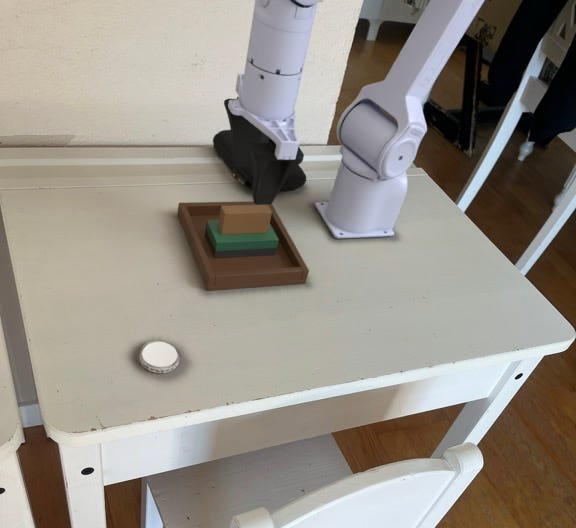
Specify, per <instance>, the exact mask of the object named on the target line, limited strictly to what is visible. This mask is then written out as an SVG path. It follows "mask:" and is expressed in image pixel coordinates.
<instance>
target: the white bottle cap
mask: <svg viewBox="0 0 576 528" xmlns="http://www.w3.org/2000/svg"><path fill="white" fill-rule="evenodd" d="M180 357H181V354H180V351H179V349H178V348H177V347H176V346H175V344H173V343H171V342H168V341H165V340H152V341H149V342H146V343H145V344H144V345H143V346H142V347H141V348H140V350H139V362H140V364H141V366H142V367H143V368H145V369H146V370H148V371H150V372H152V373H157V374H165V373H169V372H171V371H174V370H175V369H176V368H177V367H178V366H179V363H180V359H181V358H180Z"/></svg>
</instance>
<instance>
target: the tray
mask: <svg viewBox="0 0 576 528" xmlns="http://www.w3.org/2000/svg"><path fill="white" fill-rule="evenodd" d="M232 205H256V204H255V203H254V201H253V200H252V201H250V200H249V201H247V200H246V201H200V202H195V201H194V202H178V208H177V219H178V221H179V224H180V226H181V229H182V232H183V234H184V237H185V239H186V241H187V244H188V246H189V249H190V252H191V255H192V256H193V259H194V262H195V264H196V266H197V269H198V272H199V274H200V276H201V279H202V281H203V284H204V286H205V289H206V291H208V292H210V291H223V290H236V289H248V288H250V289H251V288H263V287H264V288H265V287H275V286H276V287H277V286H289V285H290V286H291V285H302V284H303V285H304V284H306V282H307V278H308V276H309V272H310V270H309V268H308V266H307V264H306V262H305V261H304V259H303V257H302V255H301V254H300V252H299V250H298V248H297V246H296V244H295V243H294V241H293V239H292V237H291V236H290V234H289V232H288V230H287V228H286V227H285V225H284V222H283V221H282V220H281V218H280V216H279V213H277V211H276V209H275V206H274V205H273V203H272V204H268V206H269V208H270V210H271V211H272V215H271V219H270V224H271V226H272V228H273V230H274V232H275V234H276V236H277V237H278V239H279V241H278V245H277V249H276V253H275V255H267V256H248V257H230V258H214V256H213V254H212V252H211V249H210V247H209V245H208V242H207V240H206V238H205V230H206V222H207V220H219V216H220V210H221V206H232Z"/></svg>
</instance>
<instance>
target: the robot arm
mask: <svg viewBox="0 0 576 528" xmlns="http://www.w3.org/2000/svg"><path fill="white" fill-rule="evenodd" d="M324 1H325V0H254V6H253V7H254V8H253V13H252V21H251V25H250V26H251V27H250V31H249V32H250V33H249V39H248V46H247V53H246V60H245V64H244V70H243V73H237V75H236V76H237V77H236V83H235V92H236V94H237V95H238V96H237V97H236V98H226V99H225V100H224V101H223V106H224V109H225V111H226V114H227V118H228V123H229V128H230V129H229V130H231V138H232V154H233V163H234V165H235V167H251V166H252V164H253V168H254V179H253V191H252V199H253V200H252V201H254V203H255V204H256V205H268V204H272V205H273V203H274V201H275V199H276V197H277V196H278V193H279V192H280V191H279V190H280V188H281V186H282V184H283V183H284V181H285V180H286V178H287V177H288V175H289V174H290V173H291V172H292V171H293V170H294V169H295V168H296V167H297V166H298V165H299V166H300V164H302V163H303V161H304V157H305V154H304V151H302V149H301V147H300V141H299V140H298V137H297V133H296V132H297V131H296V130H297V129H296V109H295V106H296V102H297V97H298V93H299V89H300V84H301V80H302V74H303V71H304V64H305V60H306V56H307V53H308V48H309V43H310V38H311V34H312V29H313V25H314V21H315V16H316V12H317V7H318V4H319V3H322V2H324ZM484 2H485V0H429V1H428V3H427V5H426V7H425V8H424V10H423V12H422V14H421V16H420V17H419V19H418V20H417V22H416V24H415V26H414V28H413V29H412V31H411V33H410V34H409V37H408V38H407V39H406V41H405V43H404V45H403V46H402V49H401V50H400V52H399V54H398V56H397V57H396V59H395V61H394V62H393V64H392V65H391V68H390V69H389V71H388V73H387V74H386V77H385V78H384V80H381V81H376V82H374V83H370V84H367V85H364V86H363V87H362V88H361V89H360V91H359V92H358V95H357V97H356V98H355V99H354V100H353V101H352V102H351V103H350V104H349V105H348V106H347V107H346V108H345V110H344V111H343V112H342V114H341V115H340V118H339V119H338V122H337V125H336V131H335V132H336V138H337V140H338V142H339V143H340V147H339V148H340V149H339V154H340V155H341V158H340V163H339V165H338V169H337V172H336V175H335V178H334V181H333V182H334V183H333V186H332V190H331V193H330V195H329V199H328V201H317V202H315V205H314V207H315V208H316V210H317V212H318V214H319V215H320V216H321V218H322V220H323V222H324V223H325V224H326V226H327V228H328V229H329V231H330V232H331V234H332V235H333V237H334V238H335V239H356V238H357V239H358V238H377V237H380V238H381V237H382V238H383V237H393V236H394V235H395V231H394V230H393V228H394V226H395V223H396V220H397V218H398V216H399V213H400V211H401V208H402V206H403V203H404V201H405V198H406V195H407V191H408V186H409V185H408V182H409V181H408V174H407V170H408V169H410V167H411V166H412V164H413V162H414V161H415V159H416V156H417V153H418V150H419V146H420V144H421V142H422V140H423V138H424V136H425V134H426V133H427V131H428V128H427V127H428V125H427V122H426V119H425V114H424V110H423V107H422V103H423V101H424V99H425V98H426V96H427V95H428V93H429V91H430V90H431V88H432V86H433V85H434V83H435V82H436V80H437V78H438V76H439V75H440V74H441V72H442V70H443V69H444V67H445V65H446V64H447V63H448V60H449V59H450V57H451V56H452V54H453V52H454V51H455V49H456V47H457V46H458V44H459V43H460V41H461V39H463V37H464V35H465V33H466V32H467V30H468V28H469V27H470V25H471V23H472V22H473V20H474V18H475V17H476V15H477V13H478V12H479V10H480V9H481V7H482V6H483V4H484ZM382 109H383V110H384V111H385V112H384V111H383V110H382ZM386 112H387V113H388V114H389V115H388V114H387V113H386ZM390 115H391V117H390ZM392 117H393V118H394V119H393V118H392ZM263 133H264V134H265V135H267V136H268V137H269V138H270V139H268V144H267V143H260V140H261V137H262V135H263Z"/></svg>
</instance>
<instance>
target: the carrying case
mask: <svg viewBox="0 0 576 528" xmlns="http://www.w3.org/2000/svg"><path fill="white" fill-rule="evenodd" d="M268 139H270V138H269V137H268V136H267V135H265V134H264V133H263V135H262V137H261V140H260V143H267V144H268ZM212 144H213V145H212V146H213V148H214V149H215V150H216V152H217V153H218V154H219V155H220V156H221V157H222V159H223V160H224V161H225V162H226V164H227V165H228V166H229V167H230V168H231V170H232V172H231V176H232V178H233V179H234V180H236V181H238V182H239V183H241V185H243V186H244V187H246V188H249V189H250V191H252V192H253V179H254V168H253V164H252V166H251V167H235V165H234V163H233V154H232V138H231V129H223V130H220V131H218V132H217V133H216V134H215V135H214V136H213V138H212ZM306 183H307V175H306V173H305V172H304V170H303V168H302V167H301V166H300V164H299V165H298V166H297V167H296V168H295V169H294V170H293V171H292V172H291V173H290V174H289V175H288V177H287V178H286V180H285V181H284V183H283V184H282V186H281V188H280V190H279V192H287V191H294V190H298V189H299V188H302V187H304V186H305V184H306Z"/></svg>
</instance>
